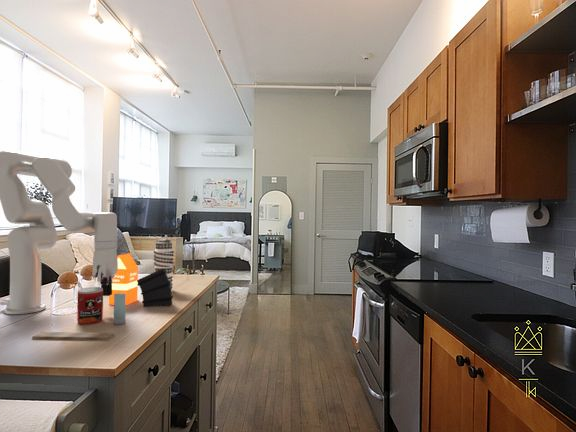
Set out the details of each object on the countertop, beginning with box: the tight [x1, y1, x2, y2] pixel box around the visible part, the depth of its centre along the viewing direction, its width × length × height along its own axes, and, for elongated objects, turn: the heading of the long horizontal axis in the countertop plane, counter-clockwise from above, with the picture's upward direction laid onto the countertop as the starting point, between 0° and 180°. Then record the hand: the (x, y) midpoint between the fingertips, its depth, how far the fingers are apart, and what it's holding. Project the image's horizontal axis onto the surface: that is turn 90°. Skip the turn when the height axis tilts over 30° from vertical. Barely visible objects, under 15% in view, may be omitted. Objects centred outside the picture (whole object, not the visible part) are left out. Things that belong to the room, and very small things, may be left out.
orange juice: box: [108, 253, 139, 306], centre depth 150 cm, size 8×9×20 cm
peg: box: [113, 293, 126, 326], centre depth 121 cm, size 4×4×10 cm
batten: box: [32, 331, 115, 341], centre depth 107 cm, size 22×4×1 cm, turn 90°
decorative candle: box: [153, 238, 175, 293], centre depth 172 cm, size 9×9×25 cm
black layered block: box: [137, 268, 174, 308], centre depth 145 cm, size 4×13×15 cm, turn 100°
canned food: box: [76, 286, 104, 326], centre depth 123 cm, size 8×8×11 cm
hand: (106, 295), depth 132 cm, fingers closed
